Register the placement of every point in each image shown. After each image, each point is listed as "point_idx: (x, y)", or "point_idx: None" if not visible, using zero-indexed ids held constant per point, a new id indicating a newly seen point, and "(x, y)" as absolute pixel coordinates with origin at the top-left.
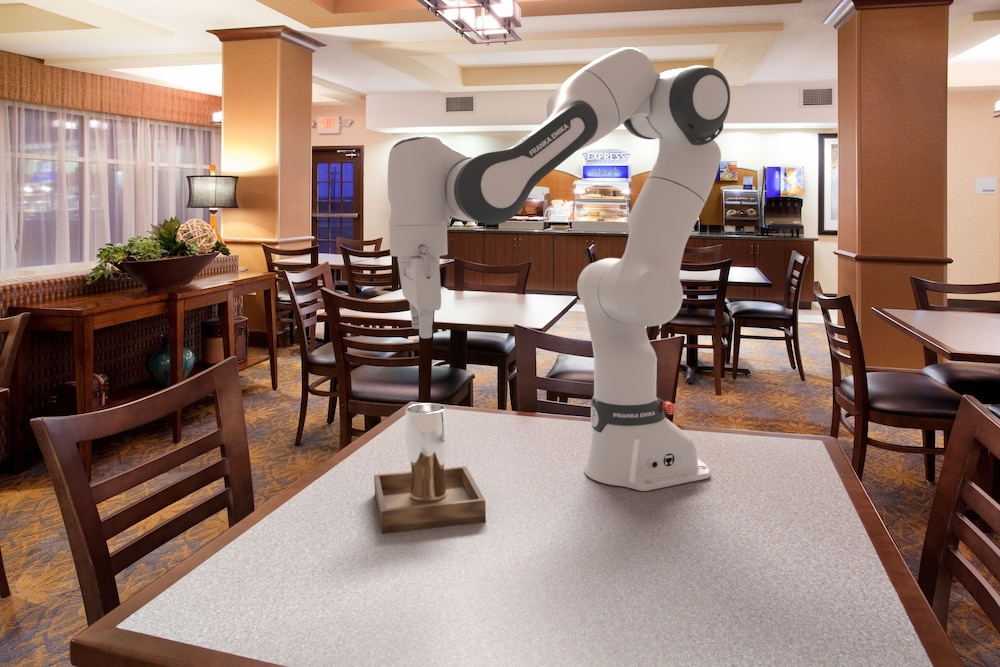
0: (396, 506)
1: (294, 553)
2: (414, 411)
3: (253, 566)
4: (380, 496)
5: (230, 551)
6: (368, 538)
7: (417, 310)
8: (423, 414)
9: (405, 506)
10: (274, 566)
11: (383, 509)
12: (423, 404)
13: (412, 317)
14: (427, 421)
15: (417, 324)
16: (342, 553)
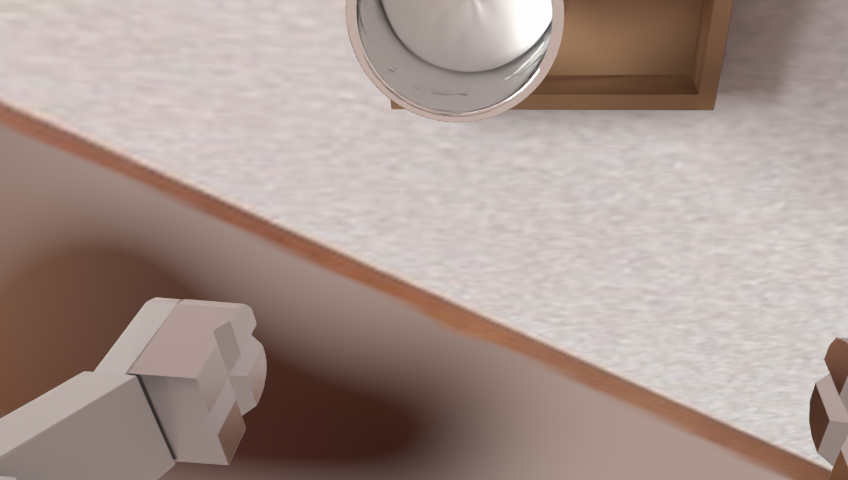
0: (562, 35)
1: (724, 272)
2: (375, 58)
3: (750, 338)
4: (588, 103)
5: (655, 371)
6: (717, 117)
7: (72, 478)
8: (559, 45)
9: (572, 7)
10: (772, 306)
11: (701, 102)
12: (355, 21)
13: (173, 460)
14: (565, 12)
15: (240, 375)
16: (779, 181)
